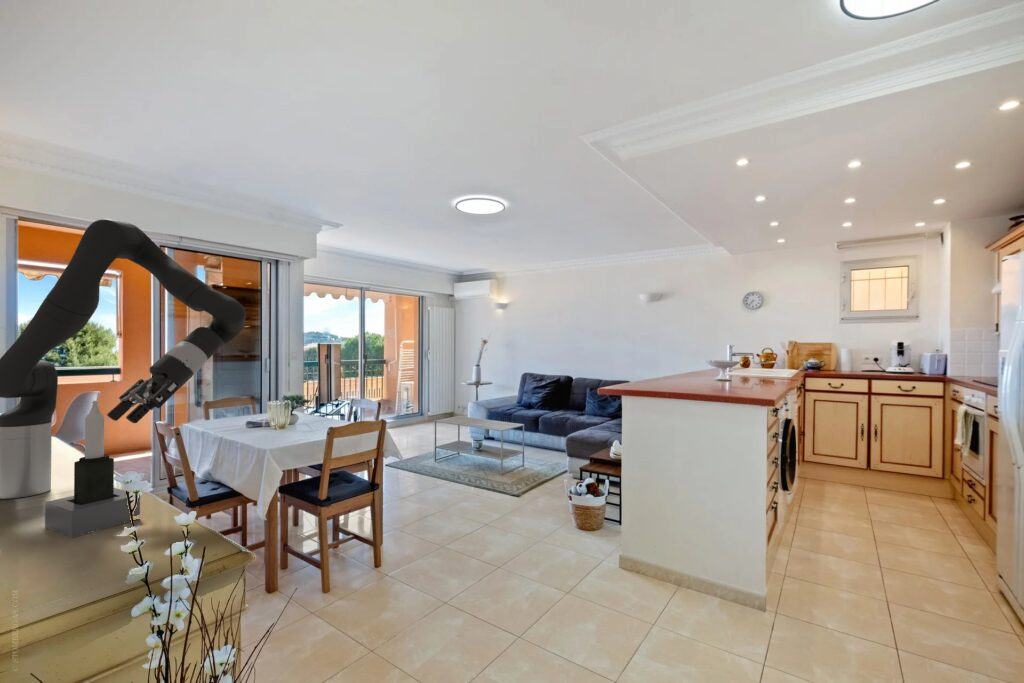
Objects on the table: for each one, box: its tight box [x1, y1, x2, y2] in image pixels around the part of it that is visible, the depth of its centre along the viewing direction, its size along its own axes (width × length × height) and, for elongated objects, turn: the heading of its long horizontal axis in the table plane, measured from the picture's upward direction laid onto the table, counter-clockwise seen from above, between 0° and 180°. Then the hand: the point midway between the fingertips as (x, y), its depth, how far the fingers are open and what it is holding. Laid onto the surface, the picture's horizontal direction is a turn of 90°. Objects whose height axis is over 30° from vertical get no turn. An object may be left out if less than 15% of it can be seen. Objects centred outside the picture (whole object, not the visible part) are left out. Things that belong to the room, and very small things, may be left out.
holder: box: [44, 487, 141, 538], centre depth 95 cm, size 12×11×5 cm
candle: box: [73, 400, 115, 505], centre depth 96 cm, size 5×5×25 cm
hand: (120, 419), depth 100 cm, fingers open, 8 cm apart
